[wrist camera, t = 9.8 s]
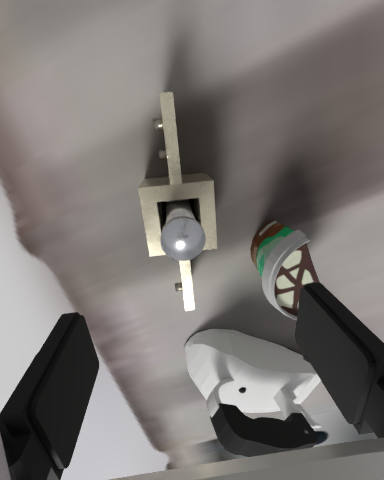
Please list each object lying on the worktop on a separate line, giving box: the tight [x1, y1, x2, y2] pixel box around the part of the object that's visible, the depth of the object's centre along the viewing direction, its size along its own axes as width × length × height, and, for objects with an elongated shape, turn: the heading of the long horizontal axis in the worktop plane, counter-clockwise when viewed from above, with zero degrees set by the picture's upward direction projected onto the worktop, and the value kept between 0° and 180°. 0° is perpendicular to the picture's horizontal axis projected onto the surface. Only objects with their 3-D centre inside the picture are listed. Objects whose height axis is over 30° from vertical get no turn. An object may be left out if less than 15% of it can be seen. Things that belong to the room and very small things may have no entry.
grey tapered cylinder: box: [160, 199, 206, 261], centre depth 26 cm, size 4×4×13 cm
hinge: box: [138, 92, 217, 311], centre depth 29 cm, size 24×8×7 cm, turn 5°
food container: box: [251, 219, 319, 320], centre depth 31 cm, size 12×6×10 cm, turn 26°
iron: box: [184, 329, 321, 457], centre depth 37 cm, size 11×24×15 cm, turn 65°
